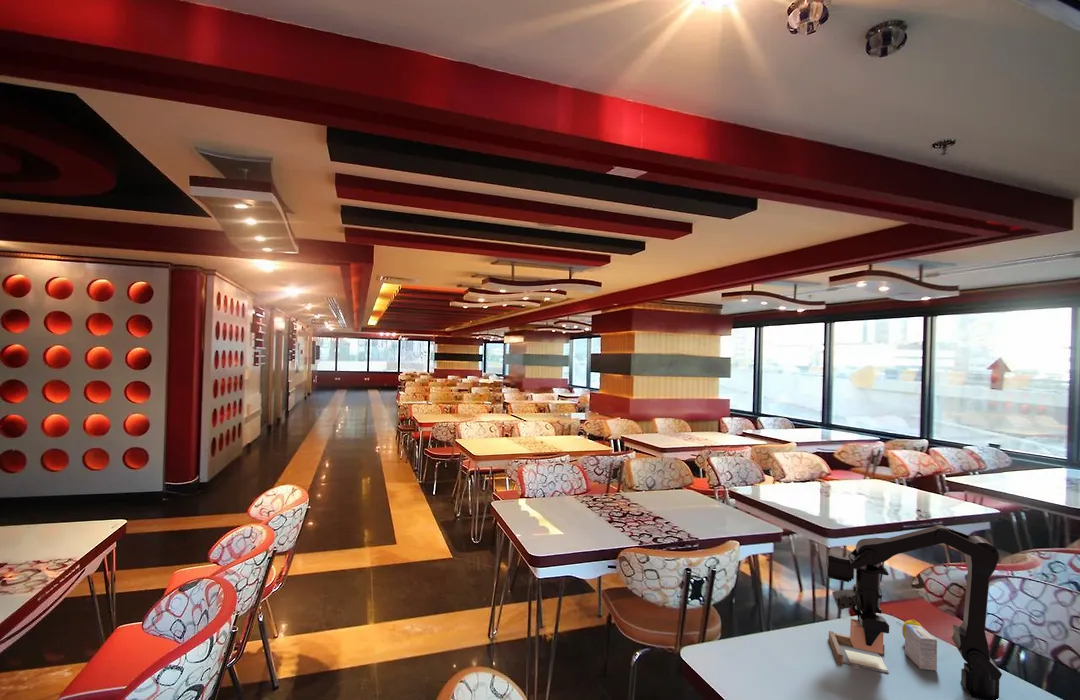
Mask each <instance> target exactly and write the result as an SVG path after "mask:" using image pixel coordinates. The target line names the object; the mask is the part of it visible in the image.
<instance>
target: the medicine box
mask: <svg viewBox="0 0 1080 700" xmlns="http://www.w3.org/2000/svg"><path fill="white" fill-rule="evenodd" d="M921 626H922V625H921ZM921 626H917V625H908V624H906V625H905V638H904V653H905V655H906V656H907V657H909V658H910V660H911V661H912V662H913V663H914V664H915V665H916V666H917V667H918V668H919V669H921V670H929V671H933V670H935V672H936V671H938V641H937V639H936V638H935V637H934V636H933V635H932V634H931V633H929V632H928V631H927V630H926V629H925V628H924V627H923V626H922V627H921Z"/></svg>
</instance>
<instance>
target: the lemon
mask: <svg viewBox="0 0 1080 700" xmlns="http://www.w3.org/2000/svg"><path fill="white" fill-rule="evenodd" d="M906 624H908V625H917V626H921V627H923V625H922V624H921V623H920V622H918V621H916V619H909V620H906V621H904V622H903V624H902V630H901V634H902V636H903V638H904V639H905V625H906Z"/></svg>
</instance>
